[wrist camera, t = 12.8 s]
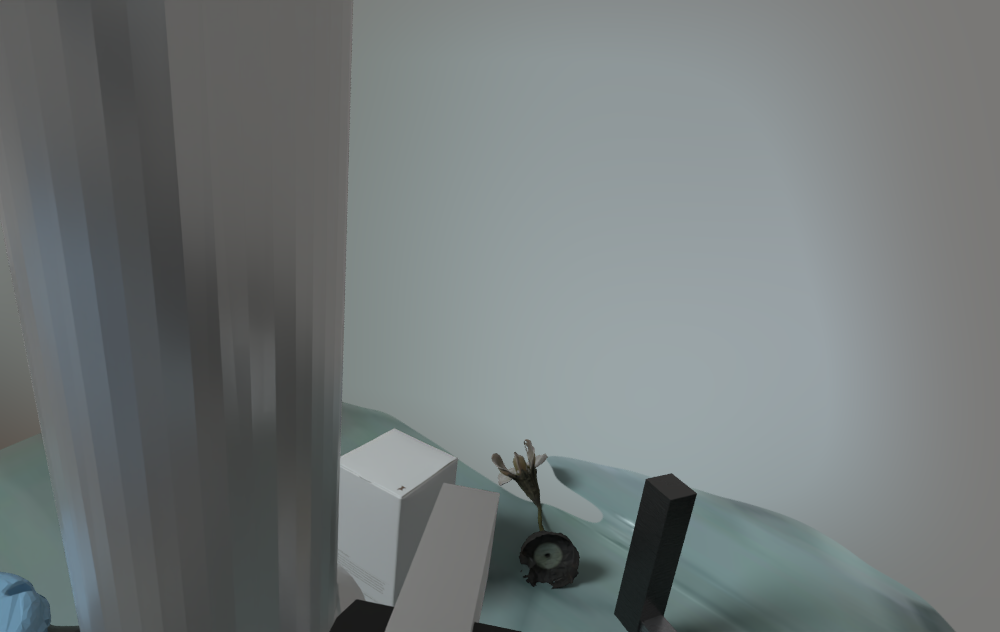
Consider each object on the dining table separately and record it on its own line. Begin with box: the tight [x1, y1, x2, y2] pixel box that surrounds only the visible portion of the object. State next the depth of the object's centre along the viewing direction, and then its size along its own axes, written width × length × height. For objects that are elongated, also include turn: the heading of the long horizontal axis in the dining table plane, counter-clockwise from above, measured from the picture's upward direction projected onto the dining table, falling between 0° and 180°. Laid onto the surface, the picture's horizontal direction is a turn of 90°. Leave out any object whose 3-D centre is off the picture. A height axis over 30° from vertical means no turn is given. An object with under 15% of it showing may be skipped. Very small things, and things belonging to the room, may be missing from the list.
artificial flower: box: [492, 439, 580, 589], centre depth 67 cm, size 9×22×10 cm, turn 2°
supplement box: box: [337, 429, 458, 607], centre depth 54 cm, size 9×9×15 cm
